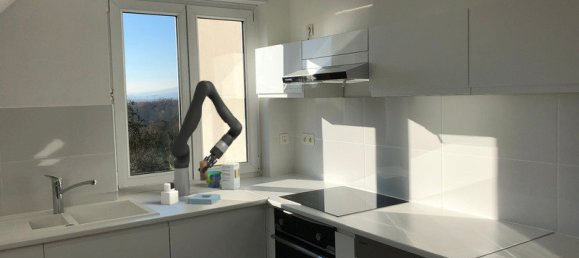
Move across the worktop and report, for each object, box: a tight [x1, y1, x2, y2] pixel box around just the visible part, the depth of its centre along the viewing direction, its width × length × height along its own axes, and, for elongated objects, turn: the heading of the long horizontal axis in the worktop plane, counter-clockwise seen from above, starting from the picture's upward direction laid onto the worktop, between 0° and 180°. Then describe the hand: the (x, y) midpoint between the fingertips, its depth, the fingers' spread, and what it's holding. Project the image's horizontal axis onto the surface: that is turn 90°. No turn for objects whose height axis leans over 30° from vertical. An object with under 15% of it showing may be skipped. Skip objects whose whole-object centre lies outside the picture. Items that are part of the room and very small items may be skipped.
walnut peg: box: [199, 160, 209, 182], centre depth 288 cm, size 5×5×11 cm
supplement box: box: [220, 162, 241, 191], centre depth 326 cm, size 10×9×17 cm
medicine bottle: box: [160, 181, 179, 206], centre depth 286 cm, size 7×7×12 cm
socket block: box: [188, 193, 222, 205], centre depth 289 cm, size 14×14×3 cm
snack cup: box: [205, 170, 222, 188], centre depth 334 cm, size 16×10×10 cm
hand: (200, 171), depth 287 cm, fingers closed on walnut peg, 4 cm apart
